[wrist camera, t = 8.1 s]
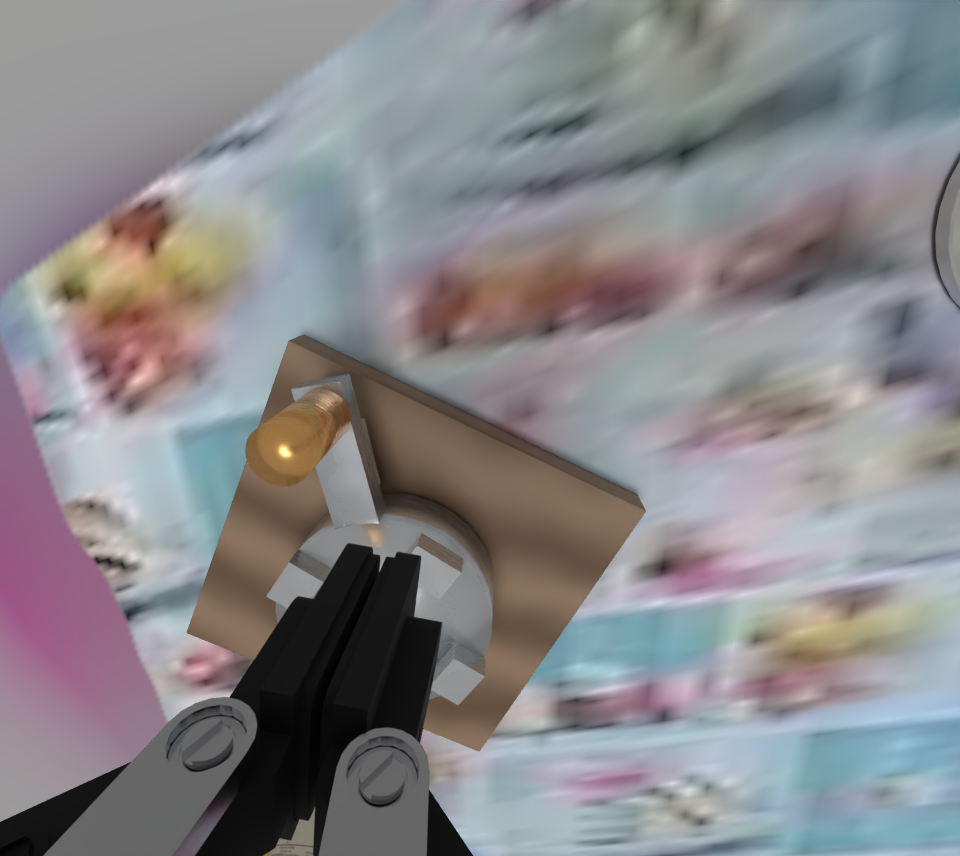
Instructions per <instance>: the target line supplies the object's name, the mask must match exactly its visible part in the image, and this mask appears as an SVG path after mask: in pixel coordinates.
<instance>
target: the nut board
mask: <svg viewBox="0 0 960 856" xmlns="http://www.w3.org/2000/svg"><path fill="white" fill-rule="evenodd" d="M345 374H349V375H350V379H351V382H352V386H353V390H354V393H355V397H356V401H357V404H358V408H359V412H360V416H361V419H362V423H363V427H364V430H365V434H366V438H367V441H368V445H369V449H370V452H371V456H372V460H373V463H374V467H375V471H376V475H377V478H378V482H379V486H380V489H381V493H401V494H407V495H414V496H417V497H421V498H424V499H427V500H430V501H432V502H435V503H437V504H439V505H441V506H443V507H445V508H447V509H448V510H450V511H452V512H453V513H454V514H456V515H457V516H459V517H460V518H461V519H462V520H463V521H464V522H466V523H467V524H468V525H469V526H470V527H471V528H472V530H473V531H474V532H475V533H476V534H477V536H478V537H479V538H480V540H481V542H482V543H483V545H484V546H485V548H486V551H487V553H488V555H489V557H490V561H491V564H492V568H493V576H494V591H493V613H492V633H491V639H490V644H489V647H488V649H487V652H486V655H485V656H484V659H486V667H485V677H484V678H483V679H482V680H481V681H480V682H479V684H478V685H477V686H476V687H475V688H474V689H473V690H472V691H471V692H470V693H469V694H468V695H467V696H466V697H465V699H464V700H463V701H462V702H461V703H460V704H459V705H457V704H455V703H453V702H451V701H450V700H448V699H446V698H444V697H442V696H441V695H440V696H438V697H435V698H433V699H429V702H428V707H427V712H426V717H425V721H424V726H423V729H425V730H427V731H430V732H432V733H435V734H437V735H440V736H442V737H445V738H447V739H450V740H452V741H455V742H457V743H460V744H462V745H464V746H467V747H469V748H472V749H474V750H477V751H480V750H481V748H482V747H483V746H484V744H485V743H486V741H487V740H488V738H489V737H490V735H491V734H492V733H493V731H494V730H495V728H496V727H497V725H498V724H499V722H500V721H501V720H502V718H503V717H504V715H505V714H506V712H507V711H508V710H509V708H510V707H511V705H512V704H513V702H514V701H515V699H516V698H517V697H518V695H519V694H520V692H521V691H522V689H523V688H524V686H525V685H526V684H527V682H528V681H529V679H530V678H531V676H532V675H533V673H534V672H535V671H536V669H537V668H538V666H539V665H540V663H541V662H542V660H543V659H544V658H545V656H546V655H547V653H548V652H549V650H550V649H551V647H552V646H553V645H554V643H555V642H556V640H557V639H558V637H559V636H560V634H561V633H562V632H563V630H564V629H565V627H566V626H567V624H568V623H569V621H570V620H571V619H572V617H573V616H574V614H575V613H576V611H577V610H578V608H579V607H580V606H581V604H582V603H583V601H584V600H585V598H586V597H587V595H588V594H589V593H590V591H591V590H592V588H593V587H594V585H595V584H596V583H597V581H598V580H599V578H600V577H601V575H602V574H603V572H604V571H605V570H606V568H607V567H608V565H609V564H610V562H611V561H612V559H613V558H614V557H615V555H616V554H617V552H618V551H619V549H620V548H621V546H622V545H623V544H624V542H625V541H626V539H627V538H628V536H629V535H630V533H631V532H632V531H633V529H634V528H635V526H636V525H637V523H638V522H639V520H640V519H641V518H642V516H643V515H644V513H645V512H646V510H645V508H644V506H643V505H642V503H641V501H640V499H639V497H638V495H636V494H634V493H632V492H630V491H628V490H626V489H624V488H622V487H620V486H617V485H615V484H613V483H611V482H609V481H607V480H605V479H603V478H601V477H599V476H597V475H595V474H592V473H590V472H588V471H586V470H584V469H582V468H580V467H578V466H576V465H574V464H572V463H569V462H567V461H565V460H563V459H561V458H559V457H557V456H555V455H553V454H551V453H549V452H547V451H544V450H542V449H540V448H538V447H536V446H534V445H532V444H530V443H528V442H526V441H524V440H522V439H519V438H517V437H515V436H513V435H511V434H509V433H507V432H505V431H503V430H501V429H499V428H496V427H494V426H492V425H490V424H488V423H486V422H484V421H482V420H480V419H478V418H476V417H474V416H471V415H469V414H467V413H465V412H463V411H461V410H459V409H457V408H455V407H453V406H451V405H448V404H446V403H444V402H442V401H440V400H438V399H436V398H434V397H432V396H430V395H428V394H426V393H423V392H421V391H419V390H417V389H415V388H413V387H411V386H409V385H407V384H405V383H403V382H400V381H398V380H396V379H394V378H392V377H390V376H388V375H386V374H384V373H382V372H380V371H378V370H375V369H373V368H371V367H369V366H367V365H365V364H363V363H361V362H359V361H357V360H355V359H352V358H350V357H348V356H346V355H344V354H342V353H340V352H338V351H336V350H334V349H332V348H330V347H327V346H325V345H323V344H321V343H319V342H317V341H315V340H313V339H311V338H309V337H307V336H305V335H302V336H299V337H297V338H294V339H292V340H289V341H288V344H287V347H286V350H285V353H284V355H283V358H282V361H281V364H280V367H279V370H278V373H277V375H276V378H275V381H274V384H273V387H272V390H271V393H270V395H269V398H268V401H267V404H266V407H265V410H264V413H263V415H262V418H261V421H260V424H259V427H260V426H261V425H263V424H264V423H266V422H267V421H268V420H270V419H271V418H273V417H274V416H275V415H277V414H278V413H280V412H281V411H283V410H284V409H285V408H287V407H288V406H290V405H291V404H292V403H294V402H295V400H294V397H293V394H292V391H291V389H293V388H294V387H296V386H297V385H299V384H300V383H302V382H304V381H310V380H316V379H321V378H327V377H333V376H339V375H345ZM259 427H258V428H259ZM328 512H329V509H328V506H327V503H326V499H325V496H324V493H323V490H322V487H321V484H320V480H319V477H318V474H317V471H316V468H314V469H313V470H312V471H311V472H310V473H309V474H308V476H307V477H306V478H305V479H304V480H302V481H301V482H299V483H298V484H295V485H292V486H276V485H272V484H270V483H267V482H266V481H264V480H262V479H261V478H260V477H258V476H257V475H256V474H255V473H254V471H253V470H252V469H251V467H250V465H249V463H248V461H246V464H245V467H244V470H243V473H242V476H241V478H240V481H239V484H238V487H237V490H236V493H235V496H234V498H233V501H232V504H231V507H230V510H229V513H228V516H227V518H226V521H225V524H224V527H223V530H222V533H221V536H220V539H219V541H218V544H217V547H216V550H215V553H214V556H213V559H212V561H211V564H210V567H209V570H208V573H207V576H206V579H205V581H204V584H203V587H202V590H201V593H200V596H199V599H198V601H197V604H196V607H195V610H194V613H193V616H192V619H191V622H190V624H189V627H188V630H187V633H188V634H191V635H193V636H195V637H198V638H200V639H203V640H205V641H208V642H210V643H213V644H215V645H218V646H220V647H223V648H225V649H228V650H230V651H232V652H235V653H237V654H240V655H242V656H245V657H247V658H250V659H252V660H254V659H255V658H256V656H257V655H258V653H259V652H260V650H261V648H262V647H263V645H264V644H265V642H266V641H267V639H268V638H269V636H270V635H271V633H272V632H273V630H274V629H275V627H276V625H277V624H278V622H277V616H276V602H275V601H273V600H272V599H270V598H268V597H266V596H267V595H268V593H269V592H270V590H271V589H272V587H273V586H274V584H275V583H276V581H277V580H278V578H279V577H280V575H281V574H282V572H283V571H284V569H285V567H286V566H287V564H288V563H289V562H290V560H291V559H292V557H293V556H294V554H295V553H296V552H297V550H298V549H299V548H300V547H301V546H302V544H303V543H304V541H305V540H306V538H307V537H308V536H309V534H310V533H311V531H312V530H313V529H314V527H315V526H316V525H317V523H318V522H319V521H320V520H321V519H322V518H323V517H324V516H325V515H326V514H327V513H328Z"/></svg>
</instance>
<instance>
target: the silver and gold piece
mask: <svg viewBox="0 0 960 856" xmlns="http://www.w3.org/2000/svg"><path fill="white" fill-rule="evenodd" d="M291 391H292V394H293V397H294V400H295V402H294V403H292V404H291V405H290V406H288V407H287V408H285V409H284V410H283V411H281V412H280V413H278V414H277V415H275V416H274V417H273V418H271V419H270V420H268V421H267V422H266V423H264V424H263V425H261V426H260V427H259V428H257V429H256V430H255V431H253V432H252V434H251V435H250V436H249V438H248V440H247V443H246V458H247V461H248V463H249V465H250V467H251V469H252V470H253V471H254V473H255V474H256V475H257V476H258V477H260V478H261V479H262V480H264V481H266V482H267V483H270V484H272V485H276V486H292V485H295V484H298V483H299V482H301V481H302V480H304V479H305V478H306V477H307V476H308V474H309V473H310V472H311V471H312V470H313V469H314V468H316V471H317V474H318V477H319V480H320V484H321V487H322V490H323V493H324V496H325V499H326V503H327V506H328V509H329V512H328V513H327V514H326V515H325V516H324V517H323V518H322V519H321V520H320V521H319V522H318V523H317V525H316V526H315V527H314V529H313V530H312V531H311V533H310V534H309V536H308V537H307V538H306V540H305V541H304V543H303V544H302V546H301V547H300V548H299V549H298V550H297V552H296V553H295V554H294V556H293V557H292V559H291V560H290V562H289V563H288V564H287V566H286V567H285V569H284V571H283V572H282V574H281V575H280V577H279V578H278V580H277V581H276V583H275V584H274V586H273V587H272V589H271V590H270V592H269V593H268V595H267V596H266V597H268V598H270V599H272V600H273V601H275V602H276V616H277V622H279V621H280V619H281V618H282V616H283V615H284V613H285V612H286V610H287V609H288V607H289V606H290V604H291V603H292V601H293V600H294V599H295V598H296V597H298V596H301V597H307V598H312V599H314V598H315V596H316V594H317V593H318V591H319V589H320V588H321V586H322V584H323V583H324V581H325V579H326V578H327V576H328V574H329V573H330V571H331V569H332V568H333V566H334V564H335V563H336V561H337V559H338V558H339V556H340V554H341V553H342V551H343V549H344V548H345V546H346V545H347V544H348V543H352V544H358V545H363V546H369V547H372V548H373V554H376V555H380V570H381V567H382V565H383V563H384V561H385V558H386V557H387V556H388V557H393V558H394V557H395V555H396V553H397V552H403V553H409V554H414V555H420V556H421V566H420V574H419V582H418V590H417V598H416V606H415V614H414V617H418V618H423V619H429V620H434V621H440V622H442V630H441V637H440V643H439V650H438V656H437V662H436V667H435V673H434V678H433V683H432V688H431V693H430V698H429V699H433V698H435V697H438V696H440V695H441V696H442V697H444V698H446V699H448V700H450V701H451V702H453V703H455V704H457V705H459V704H460V703H461V702H462V701H463V700H464V699H465V697H466V696H467V695H468V694H469V693H470V692H471V691H472V690H473V689H474V688H475V687H476V686H477V685H478V684H479V682H480V681H481V680H482V679H483V678H484V677H485V667H486V659H484V656H485V655H486V652H487V649H488V647H489V644H490V639H491V633H492V613H493V591H494V576H493V568H492V564H491V561H490V557H489V555H488V553H487V551H486V548H485V546H484V545H483V543H482V542H481V540H480V538H479V537H478V536H477V534H476V533H475V532H474V531H473V530H472V528H471V527H470V526H469V525H468V524H467V523H466V522H464V521H463V520H462V519H461V518H460V517H459V516H457V515H456V514H454V513H453V512H452V511H450V510H448V509H447V508H445V507H443V506H441V505H439V504H437V503H435V502H432V501H430V500H427V499H424V498H421V497H417V496H414V495H407V494H401V493H381V489H380V486H379V482H378V478H377V475H376V471H375V467H374V463H373V460H372V456H371V452H370V449H369V445H368V441H367V438H366V434H365V430H364V427H363V423H362V419H361V416H360V412H359V408H358V404H357V401H356V397H355V393H354V390H353V386H352V382H351V379H350V375H349V374H345V375H339V376H333V377H327V378H321V379H316V380H310V381H304V382H302V383H300V384H299V385H297V386H296V387H294V388H293V389H291ZM380 570H379V572H380Z"/></svg>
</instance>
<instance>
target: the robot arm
mask: <svg viewBox="0 0 960 856" xmlns="http://www.w3.org/2000/svg"><path fill="white" fill-rule="evenodd" d="M935 234H936V259H937V263H938V267H939V271H940V275H941V279H942V281H943V283H944V285H945V287H946V288H947V290H948V292H949V294H950V296H951V298H952V299H953V300H954V301H955V302H956V303H957V304H958V306H959V307H960V161H959V163H958V165H957V166H956V168H955V170H954V172H953V174H952V176H951V178H950V180H949V182H948V185H947V188H946V191H945V194H944V197H943V199H942V202H941V205H940V209H939V215H938V221H937V227H936V233H935ZM420 566H421V556H420V555H414V554H409V553H403V552H397V553H396V555H395V557H394V558H393V557H388V556H387V557H386V558H385V561H384V563H383V565H382V567H381V570H380V555H376V554H373V548H372V547H369V546H363V545H358V544H352V543H348V544H347V545H346V546H345V548H344V549H343V551H342V553H341V554H340V556H339V558H338V559H337V561H336V563H335V564H334V566H333V568H332V569H331V571H330V573H329V574H328V576H327V578H326V579H325V581H324V583H323V584H322V586H321V588H320V589H319V591H318V593H317V594H316V596H315V598H314V599H312V598H307V597H301V596H298V597H296V598H295V599H294V600H293V601H292V603H291V604H290V606H289V607H288V609H287V610H286V612H285V613H284V615H283V616H282V618H281V619H280V621H279V622H278V624H277V625H276V627H275V629H274V630H273V632H272V633H271V635H270V636H269V638H268V639H267V641H266V642H265V644H264V645H263V647H262V648H261V650H260V652H259V653H258V655H257V656H256V658H255V659H254V661H253V662H252V664H251V665H250V667H249V668H248V670H247V671H246V673H245V675H244V676H243V678H242V679H241V681H240V682H239V684H238V685H237V687H236V688H235V690H234V691H233V693H232V694H231V696H230V697H229V698H227V697H222V698H211V699H208V700H204V701H201V702H198V703H195V704H193V705H192V706H190V707H188V708H186V709H184V710H183V711H181V712H180V713H179V714H177V715H176V716H175V717H174V718H173V719H172V720H170V721H169V722H168V723H167V724H166V725H165V726H164V728H163V729H162V730H161V731H160V732H159V733H158V734H157V735H156V736H155V737H154V738H153V739H152V740H151V742H149V744H148V745H147V746H146V747H145V748H144V749H143V750H142V751H141V752H140V753H139V754H138V755H137V756H136V757H135V759H134V760H133V761H132V762H130V763H127V764H126V765H123V766H121V767H119V768H117V769H115V770H112V771H110V772H108V773H106V774H103V775H102V776H99V777H97V778H95V779H93V780H91V781H88V782H86V783H84V784H82V785H80V786H78V787H75V788H73V789H71V790H69V791H67V792H64V793H62V794H60V795H58V796H56V797H54V798H51V799H49V800H47V801H45V802H43V803H40V804H38V805H36V806H34V807H32V808H29V809H27V810H25V811H23V812H21V813H19V814H17V815H14V816H12V817H10V818H8V819H6V820H3V821H1V822H0V856H264V855H265V854H267V853H268V852H270V851H271V850H273V849H274V848H276V845H277V843H278V841H279V838H280V839H285V840H290V841H291V840H292V837H293V835H294V832H295V830H296V827H297V825H298V822H299V819H300V820H305V821H309V819H310V818H311V816H312V813H313V811H314V808H315V821H314V843H313V856H473V855H472V853H471V852H470V850H469V849H468V847H467V846H466V844H465V843H464V841H463V840H462V838H461V837H460V835H459V834H458V832H457V831H456V829H455V828H454V826H453V825H452V823H451V822H450V820H449V819H448V817H447V816H446V814H445V813H444V811H443V810H442V808H441V807H440V805H439V804H438V802H437V801H436V799H435V798H434V796H433V795H432V793H431V792H430V790H429V765H428V758H427V755H426V753H425V751H424V749H423V747H422V745H421V744H420V740H421V736H422V731H423V726H424V721H425V717H426V712H427V707H428V702H429V698H430V693H431V688H432V683H433V678H434V673H435V667H436V662H437V656H438V650H439V643H440V637H441V630H442V622H440V621H434V620H429V619H423V618H418V617H414V614H415V606H416V598H417V590H418V582H419V574H420ZM379 570H380V572H379Z"/></svg>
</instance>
